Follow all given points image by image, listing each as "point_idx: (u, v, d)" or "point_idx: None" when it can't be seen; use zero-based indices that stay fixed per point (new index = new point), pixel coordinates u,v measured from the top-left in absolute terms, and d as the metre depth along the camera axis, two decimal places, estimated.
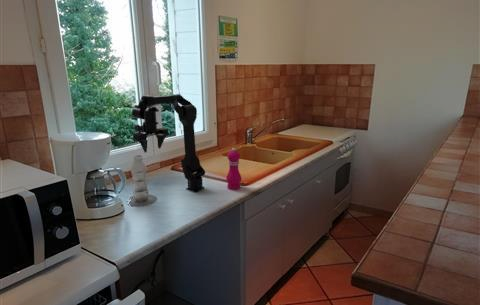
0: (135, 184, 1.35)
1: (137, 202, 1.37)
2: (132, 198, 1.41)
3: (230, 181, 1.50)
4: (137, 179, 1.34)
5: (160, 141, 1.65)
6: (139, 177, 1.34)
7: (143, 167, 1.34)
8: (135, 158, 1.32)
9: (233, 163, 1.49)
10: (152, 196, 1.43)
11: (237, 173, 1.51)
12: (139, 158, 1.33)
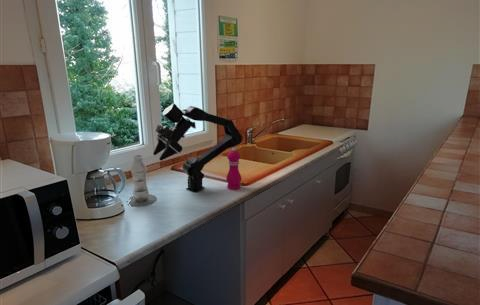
0: (135, 184, 1.35)
1: (137, 202, 1.37)
2: (132, 198, 1.41)
3: (230, 181, 1.50)
4: (137, 179, 1.34)
5: (161, 149, 1.44)
6: (139, 177, 1.34)
7: (143, 167, 1.34)
8: (135, 158, 1.32)
9: (233, 163, 1.49)
10: (152, 196, 1.43)
11: (237, 173, 1.51)
12: (139, 158, 1.33)
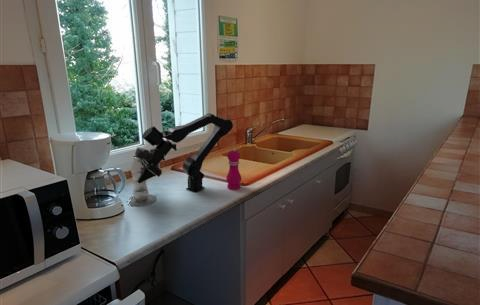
0: (135, 184, 1.35)
1: (137, 202, 1.37)
2: (132, 198, 1.41)
3: (230, 181, 1.50)
4: (137, 179, 1.34)
5: None
6: (139, 177, 1.34)
7: (143, 167, 1.34)
8: (135, 158, 1.33)
9: (233, 163, 1.49)
10: (152, 196, 1.43)
11: (237, 173, 1.51)
12: (139, 158, 1.33)
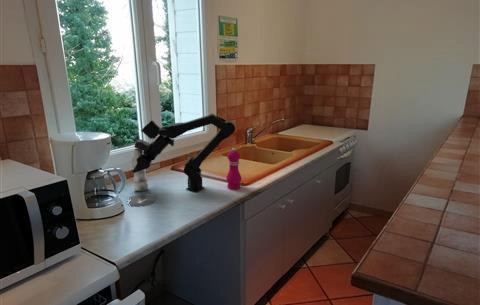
0: (134, 174, 1.47)
1: (137, 202, 1.37)
2: (132, 198, 1.41)
3: (230, 181, 1.50)
4: None
5: None
6: None
7: None
8: (134, 151, 1.44)
9: (233, 163, 1.49)
10: (152, 196, 1.43)
11: (237, 173, 1.51)
12: (137, 151, 1.43)
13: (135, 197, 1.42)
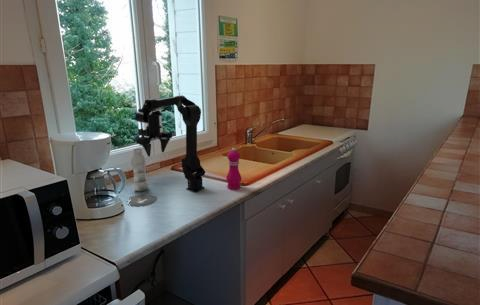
0: (134, 174, 1.47)
1: (137, 202, 1.37)
2: (132, 198, 1.41)
3: (230, 181, 1.50)
4: (135, 170, 1.45)
5: (163, 145, 1.65)
6: (136, 169, 1.45)
7: (140, 160, 1.44)
8: (134, 151, 1.44)
9: (233, 163, 1.49)
10: (152, 196, 1.43)
11: (237, 173, 1.51)
12: (137, 151, 1.43)
13: (135, 197, 1.42)
